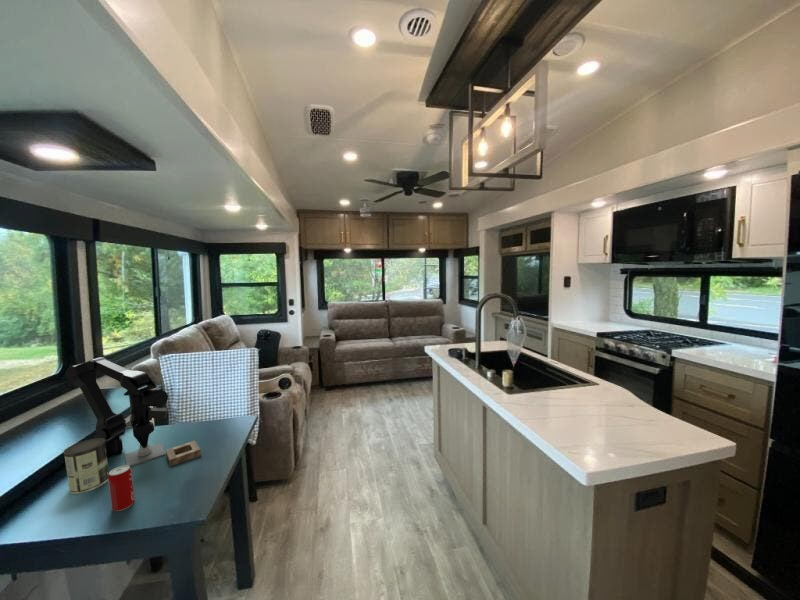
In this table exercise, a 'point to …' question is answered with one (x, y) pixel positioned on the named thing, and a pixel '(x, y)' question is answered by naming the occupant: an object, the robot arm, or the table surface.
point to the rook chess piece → (144, 451)
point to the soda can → (121, 488)
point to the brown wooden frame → (183, 453)
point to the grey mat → (134, 459)
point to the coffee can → (86, 465)
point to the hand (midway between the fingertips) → (143, 443)
